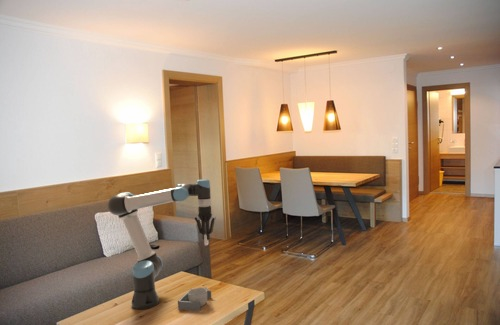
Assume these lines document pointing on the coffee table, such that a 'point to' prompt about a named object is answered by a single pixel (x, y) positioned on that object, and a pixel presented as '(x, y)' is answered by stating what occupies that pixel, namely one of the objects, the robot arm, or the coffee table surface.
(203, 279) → the coffee table surface
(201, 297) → the teacup
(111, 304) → the coffee table surface
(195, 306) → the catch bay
